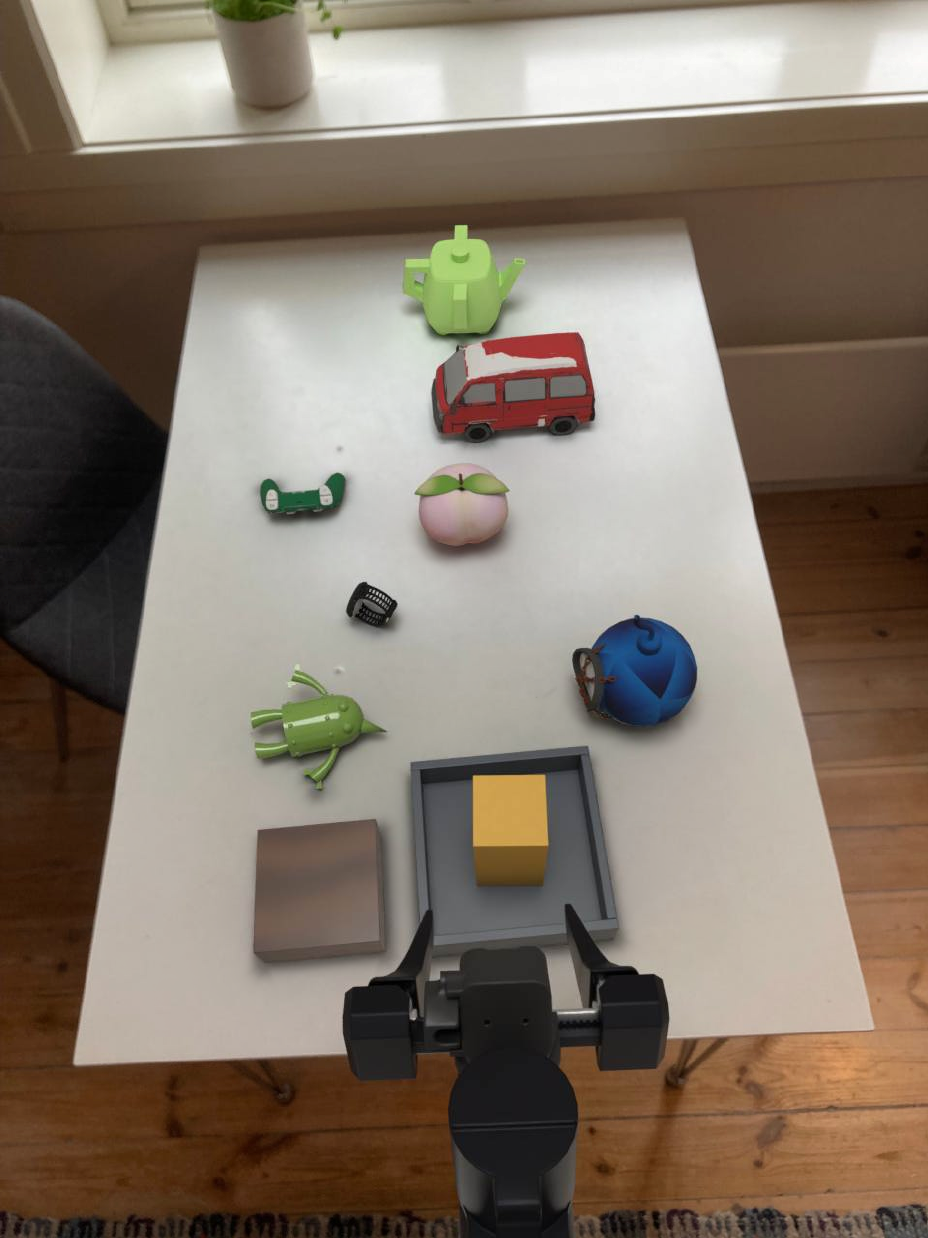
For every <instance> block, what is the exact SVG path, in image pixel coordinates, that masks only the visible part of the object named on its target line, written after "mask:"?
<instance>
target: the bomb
mask: <svg viewBox="0 0 928 1238" xmlns="http://www.w3.org/2000/svg"><path fill="white" fill-rule="evenodd" d="M571 663H572V668H573V672H574V675H575V678H574V680H576V682H577V685H578V689H579V690H578V692H579V695H580V696H581V698H582V701H583V703H584V706H585V707H584V708H585V709H586V712H587V713H591V712H594V713H595V715H597V716H598V717H600V718H602V719H604V720H608V719H609V720H613V719H614V720H616V721H617V722H619V723H622V724H624V725H625V724H626V725H628V726H632V727H642V728H643V727H652V726H657V725H659V724H663V723H665V722H668V721H669V720H671V719H673V718H674V717H676V716H677V715H679V713H681V711H683V710H684V709H685V707H686V706H687V704H688V703H689V702H690V700H691V699H692V697H693V694H694V692H695V689H696V687H697V682H698V664H697V660H696V656H695V654H694V651H693V649H692V647H691V644H690V643H689V641H687V639H686V638H685V636H684V635H683V634H682V633H681V632H679V631H678V630H677V629H676V628H675V627H673V626H672V625H670V624H668V623H666V622H664V621H662V620H659V619H655V618H651V617H641V615H639V614H634V616H633V617H631V618H627V619H622V620H619V621H618V622H616V623H614V624H613V625H611V626H609V627H608V628H606V629H605V631H603V632H602V633H601V634H600V635H599V636H598V637H597V639H596V640H595V641H594V643H593V644H592V646H591V648H589V647H578V648H575V650H574V651H573V653H572V657H571ZM599 708H600V710H602V711H603V712H601V711H599Z"/></svg>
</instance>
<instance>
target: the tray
mask: <svg viewBox="0 0 928 1238" xmlns="http://www.w3.org/2000/svg"><path fill="white" fill-rule="evenodd" d="M480 775H545V781H546V802H547V824H548V852H547V860H546V867H545V874H544V881H543V886H477V884H476V873H475V863H474V852H473V776H480ZM410 779H411V781H410V782H411V797H412V812H413V815H412V816H413V831H414V832H413V833H414V848H415V868H416V884H417V897H418V898H417V902H418V917H419V918H418V919H419V924H420V923H421V921H422V919H423V917H424V915H425V912H426V910H433V919H434V944H433V953H432V958H438V957H447V956H458V955H459V956H460V955H463V954H464V953H465V952H467V951H468V950H471V949H474V948H485V949H487V950H496V949H517V948H519V947H521V946H533V947H536V948H542V947H551V946H563V945H569V944H568V939H567V933H566V923H565V904H571V905H572V906H573V908H574V910H575V911H576V913H577V915H578V916H579V918H580V920H581V921H582V923H583V925H584V926H585V928H586V930H587V931H588V933H589V935H590V936H591V938H592V940H593V941H594V943H595V942H605V941H613V940H614V939H615V938H616V936H617V933H618V931H619V929H620V927H619V926H620V925H619V920H618V915H617V909H616V902H615V898H614V890H613V885H612V884H613V883H612V879H611V878H612V877H611V874H610V868H609V862H608V855H607V850H606V844H605V838H604V837H605V836H604V831H603V825H602V820H601V814H600V809H599V801H598V797H597V791H596V783H595V778H594V771H593V767H592V761H591V755H590V748H589V745H579V746H569V747H557V748H548V749H538V750H536V749H535V750H526V751H514V752H504V753H503V752H502V753H495V754H494V753H493V754H483V755H473V756H461V757H451V758H440V759H429V760H418V761H410Z"/></svg>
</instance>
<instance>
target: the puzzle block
mask: <svg viewBox="0 0 928 1238" xmlns="http://www.w3.org/2000/svg"><path fill="white" fill-rule="evenodd" d="M473 852H474V863H475V873H476V884H477V886H543V881H544V874H545V867H546V860H547V852H548V824H547V802H546V781H545V775H480V776H473Z"/></svg>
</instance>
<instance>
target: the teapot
mask: <svg viewBox="0 0 928 1238" xmlns="http://www.w3.org/2000/svg"><path fill="white" fill-rule="evenodd" d="M468 229H469V227H468V224H464V225H463V224H459V225H458V224H457V225H454V238H453V239H444V240H443V239H442V240H438V241H437V242H436V243H435V244H434V245H433V247H432V250H431V252H430V255H429V258H405V263H404V271H403V279H402V280H403V281H402V293H403V294H404V295H407V296H409V297H411V298H413V299H415V300H417V301H419V302H420V303H422V308H423V310H424V314H425V318H426V320H427V322H428V323H429V325H430V326H431V327H432V328H433V330H434V331H436V333H437V334H438V335H441V336H447V335H449V334H471V333H473V334H474V333H476V334H480V335H485V334H487V333H490V330H491V328H492V327H493V326H494V324H495V323H496V321H497V319H498V317H499V314H500V311H501V306H502V302H505V300H506V298H507V297H508V295H509V293H510V292H511V290H512V289H513V287H514V285H515V283H516V281H517V279H518V278H519V276H520V275H521V273H522V271H523V269H524V268H525V265H526V263H525V262H526V258H517V257H514V260H512V261H511V263H510V264H509V265H508V266H507V267H506V268H505V269H504V270H503V271H501V272H500V273H499V270H498V267H497V265H496V262H495V260H494V259H495V258H494V256H493V254H492V251H491V249H490V247H489V245H488V244H487V242H486V241H484V239H479V238H469V232H468V231H469V230H468ZM415 273H417V274H424V276H423V277H424V278H423V281H422V282H420V281H418V280H416V279H415Z"/></svg>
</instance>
